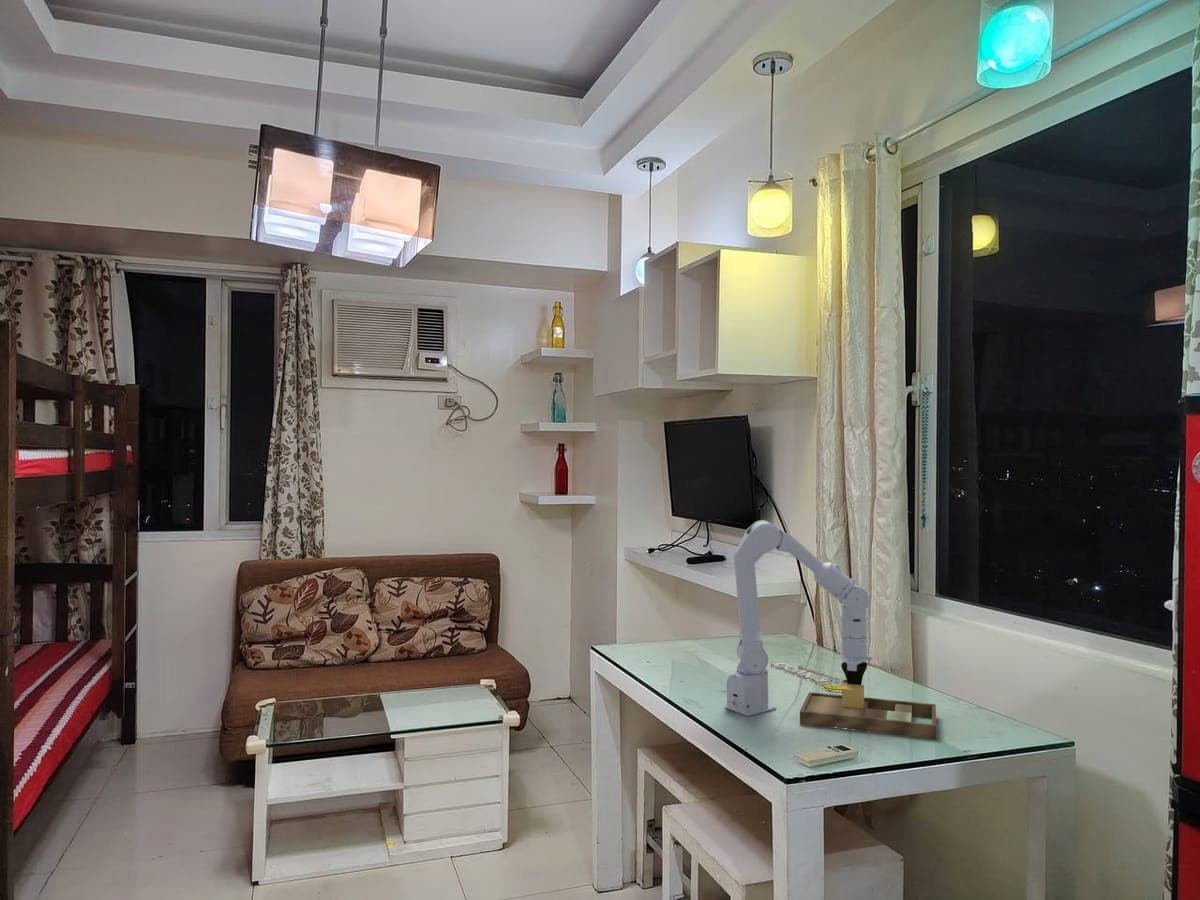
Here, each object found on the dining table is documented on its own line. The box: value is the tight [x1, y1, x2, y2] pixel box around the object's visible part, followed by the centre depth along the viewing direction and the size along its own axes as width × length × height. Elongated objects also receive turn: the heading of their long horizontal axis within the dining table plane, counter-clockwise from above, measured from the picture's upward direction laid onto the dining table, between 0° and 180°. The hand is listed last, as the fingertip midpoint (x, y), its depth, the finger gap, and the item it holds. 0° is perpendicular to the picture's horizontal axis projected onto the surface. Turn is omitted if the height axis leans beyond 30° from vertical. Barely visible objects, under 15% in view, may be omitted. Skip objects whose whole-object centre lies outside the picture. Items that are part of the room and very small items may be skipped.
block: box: [841, 683, 865, 708], centre depth 188 cm, size 4×4×4 cm
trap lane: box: [799, 691, 938, 740], centre depth 184 cm, size 28×16×3 cm, turn 68°
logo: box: [770, 662, 847, 691], centre depth 219 cm, size 29×1×10 cm
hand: (854, 694), depth 192 cm, fingers closed
